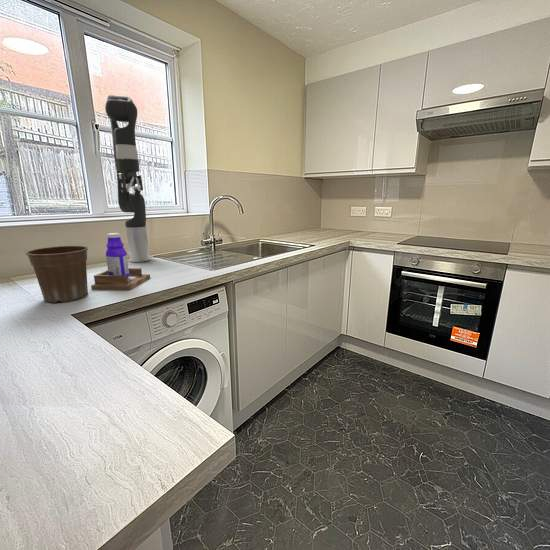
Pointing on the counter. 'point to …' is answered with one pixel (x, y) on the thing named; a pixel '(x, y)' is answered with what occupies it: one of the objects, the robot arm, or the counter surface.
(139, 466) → the counter surface
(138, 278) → the rail board
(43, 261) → the plant pot
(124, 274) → the bottle
